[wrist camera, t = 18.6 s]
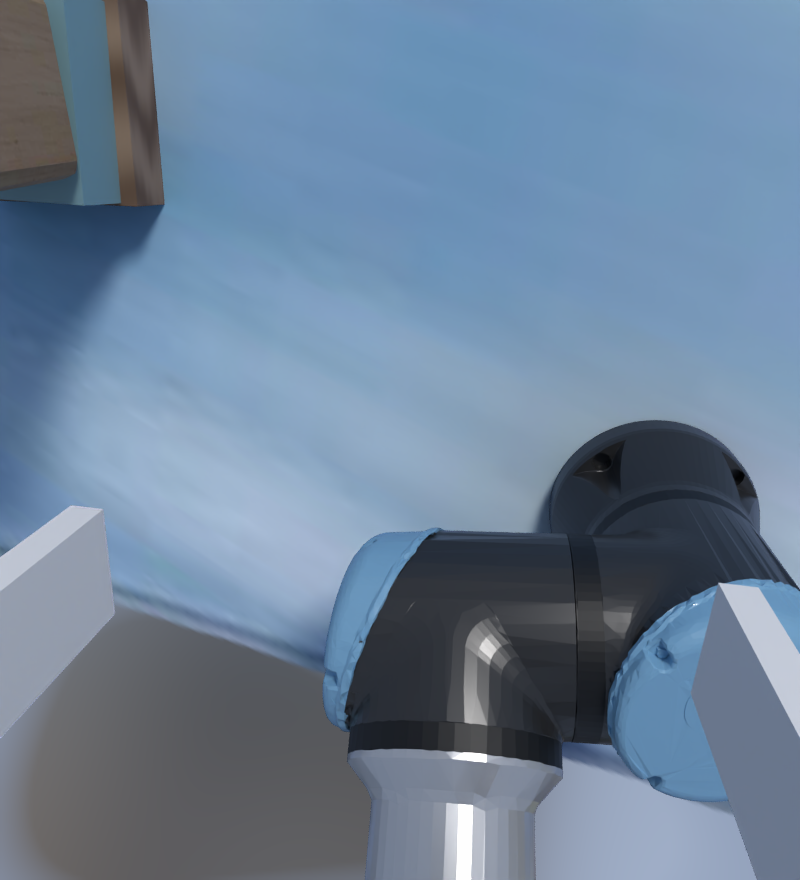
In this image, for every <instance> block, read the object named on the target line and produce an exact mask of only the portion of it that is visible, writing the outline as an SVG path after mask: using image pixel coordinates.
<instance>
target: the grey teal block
mask: <svg viewBox="0 0 800 880" xmlns="http://www.w3.org/2000/svg"><path fill="white" fill-rule="evenodd" d="M44 2H45V4H46V6H47V11H48V16H49V21H50V26H51V31H52V36H53V41H54V46H55V51H56V56H57V61H58V66H59V71H60V76H61V81H62V86H63V91H64V96H65V101H66V106H67V111H68V116H69V121H70V126H71V131H72V136H73V141H74V146H75V151H76V156H77V169H76V173H75V174H73V175H71V176H69V177H67V178H65V179H62V180H57V181H51V182H46V183H41V184H36V185H30V186H25V187H20V188H15V189H9V190H4V191H0V199H3V200H16V201H30V202H43V203H56V204H69V205H83V206H86V205H101V204H116V203H121V197H120V185H119V173H118V161H117V148H116V136H115V124H114V112H113V100H112V87H111V75H110V63H109V51H108V39H107V26H106V14H105V2H104V1H102V0H44Z"/></svg>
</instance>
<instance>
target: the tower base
mask: <svg viewBox="0 0 800 880" xmlns="http://www.w3.org/2000/svg"><path fill="white" fill-rule="evenodd" d="M102 1H104V2H105V14H106V26H107V39H108V51H109V63H110V75H111V87H112V100H113V112H114V124H115V136H116V148H117V161H118V173H119V185H120V197H121V203H116V204H101V205H115V206H151V205H164V192H163V181H162V169H161V157H160V146H159V134H158V122H157V111H156V99H155V87H154V76H153V64H152V52H151V41H150V29H149V17H148V5H147V1H145V0H102ZM0 201H16V200H3V199H0ZM22 202H30V201H22Z"/></svg>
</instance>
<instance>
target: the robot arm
mask: <svg viewBox="0 0 800 880" xmlns="http://www.w3.org/2000/svg"><path fill="white" fill-rule="evenodd" d="M549 515H550V525H551V533H509V532H475V531H445V530H443V529H441V528H431V529H428V530H426V531H422V532H389V533H383V534H379V535H377V536H375V537H373V538H371V539H370V540H368V541H367V542H366V543H365V544H364V545H363V546H362V547H361V549H360V550H359V551H358V552H357V554H356V555H355V556H354V557H353V559H352V561H351V563H350V564H349V566H348V569H347V571H346V573H345V575H344V578H343V580H342V583H341V586H340V588H339V591H338V594H337V597H336V601H335V605H334V608H333V612H332V616H331V621H330V625H329V630H328V635H327V640H326V647H325V655H324V666H325V668H326V669H327V670H326V672H325V677H324V681H323V702H324V709H325V712H326V715H327V718H328V719H329V720H330V722H331V723H332V724H333V725H335V726H337V727H339V728H340V729H341V730H342V731H344V732H350V737H349V747H348V757H347V762H348V763H349V765H350V766H351V767H352V769H353V770H354V772H355V773H356V774H357V775H358V777H359V778H360V780H361V781H362V782H363V784H364V785H365V787H366V788H367V790H368V792H369V795H370V798H371V800H372V802H371V814H370V825H369V837H368V849H367V860H366V871H365V880H536V868H535V818H534V817H535V812H536V809H537V807H538V805H539V804H540V803H541V802H542V801H543V800H544V799H545V798H546V796H547V795H548V794H549V793H550V792H551V791H552V790H553V788H554V787H555V786H556V785H557V784H558V783H559V782H560V781H561V780H562V778H563V771H562V743H563V742H576V743H590V744H604V745H613V747H614V748H615V750H616V751H617V754H618V755H619V756H620V757H621V758H622V760H623V762H624V763H625V764H626V766H627V767H628V768H629V769H630V770H631V772H632V773H633V774H634V775H636V776H637V777H639V778H640V779H646V778H647V779H648V781H649V783H650V785H651V786H652V787H653V788H654V789H656V790H658V791H660V792H662V793H664V794H667V795H670V796H673V797H677V798H681V799H685V800H690V801H699V802H721V801H729V803H730V806H731V808H732V811H733V814H734V817H735V820H736V822H737V825H738V828H739V831H740V834H741V836H742V839H743V842H744V845H745V847H746V850H747V853H748V856H749V859H750V861H751V864H752V867H753V870H754V873H755V876H756V878H757V880H800V589H799V588H798V586H797V585H796V583H795V582H794V581H793V579H792V578H791V577H790V575H789V574H788V573H787V571H786V570H785V569H784V567H783V566H782V564H781V563H780V562H779V560H778V559H777V558H776V556H775V555H774V553H773V552H772V551H771V549H770V548H769V546H768V545H767V544H766V542H765V541H764V539H763V538H762V537H761V535H760V509H759V502H758V497H757V494H756V490H755V488H754V485H753V483H752V480H751V479H750V477H749V475H748V473H747V472H746V470H745V469H744V467H743V466H742V465H741V463H740V462H739V461H738V460H737V458H736V457H735V456H734V455H733V454H732V452H731V451H730V450H729V449H728V448H727V447H726V446H725V445H724V444H722V443H721V442H720V441H719V440H717V439H716V438H714V437H713V436H711V435H709V434H708V433H706V432H704V431H702V430H700V429H697V428H695V427H692V426H689V425H686V424H682V423H677V422H671V421H661V420H651V421H639V422H633V423H628V424H625V425H621V426H618V427H615V428H612V429H610V430H608V431H605V432H603V433H601V434H599V435H598V436H596V437H594V438H593V439H591V440H590V441H588V442H587V443H586V444H584V445H583V446H582V447H581V448H580V449H578V450H577V451H576V452H575V453H574V454H573V455H572V456H571V458H570V459H569V460H568V461H567V463H566V464H565V465H564V467H563V468H562V470H561V472H560V473H559V475H558V477H557V479H556V482H555V484H554V487H553V490H552V494H551V499H550V508H549ZM114 614H115V609H114V600H113V591H112V582H111V573H110V565H109V556H108V547H107V538H106V529H105V521H104V512H103V509H97V508H89V507H81V506H72V505H71V506H70V507H68V508H67V509H66V510H64V511H63V512H61V513H60V514H59V515H57V516H56V517H55V518H53V519H52V520H51V521H49V522H48V523H46V524H45V525H44V526H42V527H41V528H40V529H38V530H37V531H36V532H34V533H33V534H31V535H30V536H29V537H27V538H26V539H25V540H23V541H22V542H21V543H19V544H18V545H16V546H15V547H14V548H12V549H11V550H10V551H8V552H7V553H5V554H4V555H3V556H1V557H0V738H1V737H2V736H3V735H4V734H5V733H6V732H7V731H8V730H9V729H10V728H11V726H12V725H13V724H14V723H15V722H16V721H17V720H18V719H19V718H20V717H21V716H22V714H23V713H24V712H25V711H26V710H27V709H28V708H29V707H30V706H31V705H32V703H34V701H35V700H36V699H37V698H38V697H39V696H40V695H41V694H42V693H43V692H44V691H45V689H46V688H47V687H48V686H49V685H50V684H51V683H52V682H53V681H54V680H55V679H56V677H57V676H58V675H59V674H60V673H61V672H62V671H63V670H64V669H65V668H66V667H67V665H68V664H69V663H70V662H71V661H72V660H73V659H74V658H75V657H76V656H77V654H79V652H80V651H81V650H82V649H83V648H84V647H85V646H86V645H87V644H88V643H89V642H90V640H91V639H92V638H93V637H94V636H95V635H96V634H97V633H98V632H99V631H100V630H101V628H102V627H103V626H104V625H105V624H106V623H107V622H108V621H109V620H110V619H111V617H113V615H114Z"/></svg>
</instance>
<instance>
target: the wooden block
mask: <svg viewBox="0 0 800 880" xmlns="http://www.w3.org/2000/svg"><path fill="white" fill-rule="evenodd" d="M76 169H77V156H76V151H75V146H74V141H73V136H72V131H71V126H70V121H69V116H68V111H67V106H66V101H65V96H64V91H63V86H62V81H61V76H60V71H59V66H58V61H57V56H56V51H55V46H54V41H53V36H52V31H51V26H50V21H49V16H48V11H47V6H46V4H45V2H44V0H0V191H4V190H9V189H15V188H20V187H25V186H30V185H36V184H41V183H46V182H51V181H57V180H62V179H65V178H67V177H69V176H71V175H73V174H75V173H76Z"/></svg>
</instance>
